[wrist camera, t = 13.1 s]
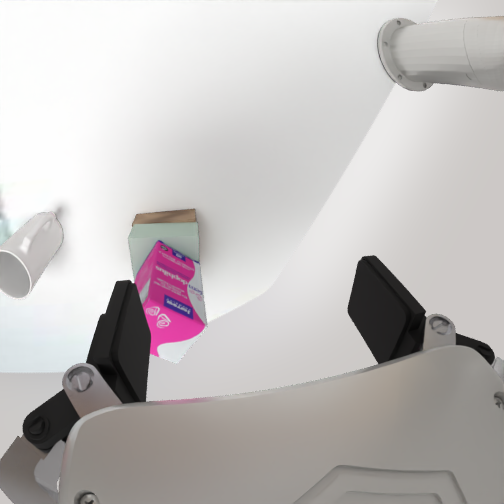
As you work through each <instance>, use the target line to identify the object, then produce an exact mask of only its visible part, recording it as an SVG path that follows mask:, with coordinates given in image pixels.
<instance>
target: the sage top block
mask: <svg viewBox="0 0 504 504" xmlns="http://www.w3.org/2000/svg"><path fill="white" fill-rule="evenodd" d="M158 240H160V241H162V242H163V243H165V244H166V245H168V246H170V247H171V248H173V249H175V250H176V251H178V252H180V253H182V254H184V255H185V256H187V257H189V258H191V259H193V260H195V261H197V262H199V232H198V222H182V223H151V224H134V225H133V228H132V230H131V233H130V235H129V237H128V241H129V249H130V256H131V263H132V269H133V276H134V282H135V278H136V275H137V273H138V271H139V270H140V268H141V266H142V265H143V263H144V261H145V260H146V258H147V256H148V255H149V253H150V252H151V250H152V249H153V247H154V245H155V244H156V242H157V241H158Z"/></svg>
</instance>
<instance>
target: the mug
mask: <svg viewBox="0 0 504 504" xmlns="http://www.w3.org/2000/svg"><path fill="white" fill-rule="evenodd" d="M62 241H63V231H62V227H61V225H60V223H59V222H58V220H57V219H56V215H55V214H54V213H53V212H48V213H39V214H37V215H35V216H34V217H33V218H32V219H30V220H29V221H28V222H27V223H26V224H24V225H23V226H22V227H21V228H20V229H19V230H18V231H17V232H15V233H14V234H13V235H12V236H11V237H10V238H9V239H8V240H7V241H6V242H4V243H3V244H2V245H1V246H0V291H1V292H2V293H4V294H5V295H6V296H8V297H10V298H12V299H17V300H21V299H24V298H26V297H27V296H28V295H29V294H30V292H31V291H32V289H33V288H34V286H35V284H36V283H37V281H38V279H39V278H40V276H41V275H42V273H43V271H44V270H45V268H46V267H47V265H48V264H49V262H50V261H51V259H52V258H53V256H54V255H55V253H56V252H57V250H58V249H59V247H60V245H61V244H62Z"/></svg>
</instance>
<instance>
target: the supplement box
mask: <svg viewBox="0 0 504 504" xmlns="http://www.w3.org/2000/svg"><path fill="white" fill-rule="evenodd" d="M134 283H135V284H136V286H137V289H138V292H139V296H140V299H141V303H142V306H143V310H144V313H145V316H146V319H147V322H148V326H149V329H150V332H151V347H150V354H152V355H155V356H157V357H160V358H162V359H165V360H167V361H170V362H172V363H175V364H177V363H178V362H179V361H180V360H181V359H182V357H183V356H184V355H185V353H186V352H187V351H188V350H189V349H190V347H191V346H192V345H193V344H194V343H195V342H196V340H197V339H198V338H199V337H200V336H201V334H202V333H203V332H204V331H205V330H206V328H207V319H206V311H205V303H204V295H203V287H202V278H201V269H200V263H199V262H197V261H195V260H193V259H191V258H189V257H187V256H185V255H184V254H182V253H180V252H178V251H176V250H175V249H173V248H171V247H170V246H168V245H166V244H165V243H163V242H162V241H160V240H158V241H157V242H156V244H155V245H154V247H153V249H152V250H151V252H150V253H149V255H148V256H147V258H146V260H145V261H144V263H143V265H142V266H141V268H140V270H139V271H138V273H137V275H136V278H135V282H134Z"/></svg>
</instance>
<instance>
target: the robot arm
mask: <svg viewBox="0 0 504 504" xmlns="http://www.w3.org/2000/svg"><path fill="white" fill-rule="evenodd" d="M378 49H379V54H380V58H381V61H382V63H383V65H384V67H385V69H386V71H387V72H388V74H389V75H390V76H391V78H392V79H393V80H394V81H395V82H396V83H398V84H399V85H400V86H402V87H403V88H405V89H408V90H411V91H424V90H426V89H428V88H430V87H431V86H432V85H433V83H440V84H452V85H461V86H469V87H476V88H483V89H489V90H496V91H504V16H496V17H475V18H462V19H450V20H442V21H434V22H427V23H421V24H416V23H415V22H413V21H411V20H408V19H404V18H398V19H393V20H390V21H388V22H387V23H385V24H384V26H383V27H382V28H381V30H380V33H379V37H378ZM425 313H426V311H425V309H424V308H423V307H422V306H421V305H420V304H419V303H418V301H417V300H416V299H415V298H414V297H413V296H412V295H411V294H410V292H409V291H408V290H407V289H406V288H405V287H404V286H403V285H402V283H401V282H400V281H399V280H398V279H397V278H396V277H395V276H394V275H393V274H392V273H391V272H390V270H388V268H387V267H386V266H385V265H384V264H383V263H382V262H381V261H380V260H379V259H378V258H377V257H376V256H374V255H373V256H364V257H362V259H361V260H360V261H359V262H358V264H357V269H356V274H355V278H354V283H353V287H352V292H351V296H350V300H349V305H348V314H349V316H350V318H351V319H352V321H353V322H354V324H355V326H356V327H357V329H358V330H359V332H360V334H361V336H362V337H363V339H364V340H365V342H366V344H367V345H368V347H369V349H370V350H371V352H372V354H373V356H374V357H375V359H376V361H377V362H378V365H374V366H371V367H368V368H364V369H360V370H357V371H353V372H349V373H345V374H341V375H337V376H333V377H329V378H324V379H320V380H315V381H311V382H306V383H302V384H296V385H291V386H286V387H280V388H275V389H268V390H262V391H255V392H249V393H242V394H234V395H225V396H216V397H205V398H195V399H181V400H167V401H149V402H146V391H147V377H148V366H149V356H150V347H151V332H150V329H149V326H148V322H147V319H146V316H145V313H144V310H143V306H142V303H141V299H140V296H139V292H138V289H137V286H136V284H135V283H132V282H131V281H130V280H124V281H117V282H116V284H115V287H114V289H113V292H112V295H111V298H110V301H109V304H108V307H107V310H106V313H105V314H102V315H101V316H100V318H99V321H98V324H97V327H96V330H95V333H94V337H93V340H92V343H91V347H90V350H89V354H88V357H87V361H86V363H80V364H76V365H74V366H72V367H71V368H69V369H68V370H67V371H66V373H65V374H64V377H63V381H62V385H63V388H64V389H63V390H62V391H60V392H59V393H57V394H56V395H55V396H53V397H52V398H50V399H49V400H48V401H46V402H45V403H43V404H42V405H41V406H39V407H38V408H36V409H35V410H34V411H32V412H31V413H30V414H29V415H28V416H27V417H26V418H25V420H24V423H23V433H24V434H23V436H22V437H21V438H20V437H19V436H17V438H16V439H15V440H14V442H13V443H12V444H11V446H10V447H9V449H8V450H7V451H6V453H5V454H4V456H3V457H2V458H1V460H0V488H1V490H2V491H3V492H4V493H5V494H6V496H7V497H8V498H9V499H10V500H11V501H12V502H13V503H14V504H504V360H502V359H501V358H499V357H497V358H496V359H495V356H494V352H493V350H492V349H491V348H490V347H489V346H488V345H487V344H485V343H483V342H481V341H478V340H475V339H472V338H469V337H466V336H463V335H460V334H457V333H456V332H455V326H454V324H453V322H452V321H451V320H450V319H448V318H447V317H446V316H443V315H440V314H432V315H430V316H428V317H427V318H426V316H425ZM59 477H60V481H59V493H58V490H57V481H58V479H59Z"/></svg>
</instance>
